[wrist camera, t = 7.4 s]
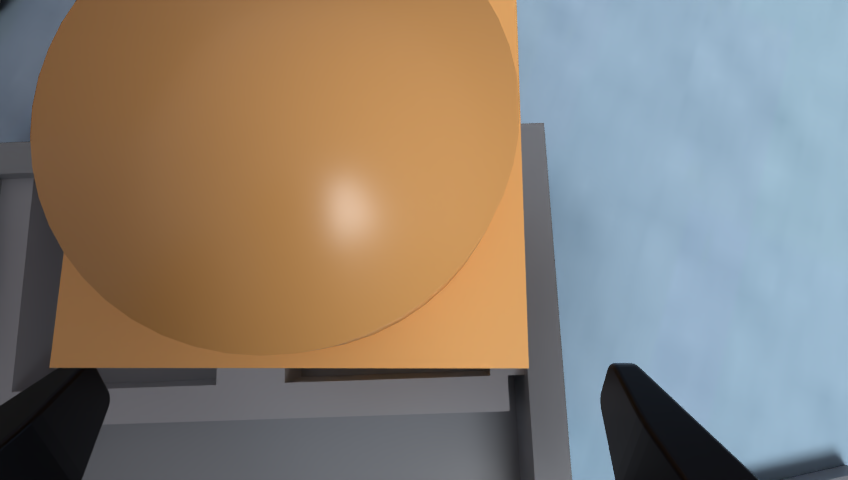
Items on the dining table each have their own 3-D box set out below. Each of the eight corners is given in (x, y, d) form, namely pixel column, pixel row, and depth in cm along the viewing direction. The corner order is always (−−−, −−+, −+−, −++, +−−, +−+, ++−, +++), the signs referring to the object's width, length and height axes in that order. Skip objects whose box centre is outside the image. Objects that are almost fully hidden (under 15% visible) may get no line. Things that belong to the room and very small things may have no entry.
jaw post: (458, 341, 17) (548, 375, 4) (322, 341, 17) (-24, 374, 4) (456, 209, 18) (528, -124, 5) (327, 210, 18) (49, -118, 5)
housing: (552, 571, 17) (584, 633, 13) (3, 588, 17) (-107, 655, 13) (523, 160, 19) (543, 122, 16) (43, 177, 19) (-40, 144, 16)
